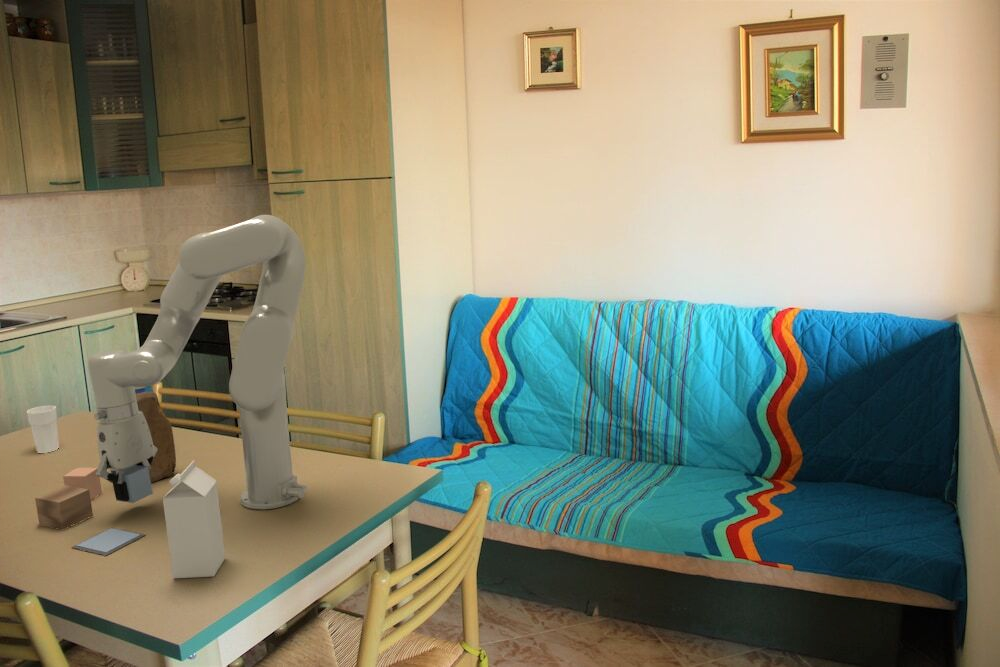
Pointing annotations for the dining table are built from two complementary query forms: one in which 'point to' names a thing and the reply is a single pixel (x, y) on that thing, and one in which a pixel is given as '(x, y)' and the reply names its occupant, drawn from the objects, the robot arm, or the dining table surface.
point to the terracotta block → (84, 480)
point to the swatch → (108, 541)
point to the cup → (44, 428)
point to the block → (158, 436)
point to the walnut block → (63, 507)
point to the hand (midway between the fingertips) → (134, 493)
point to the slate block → (137, 483)
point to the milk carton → (194, 524)
